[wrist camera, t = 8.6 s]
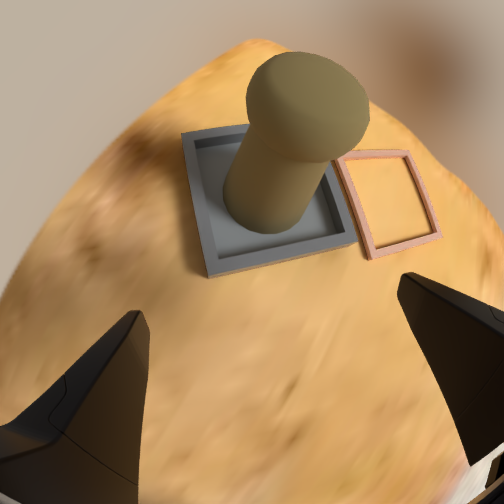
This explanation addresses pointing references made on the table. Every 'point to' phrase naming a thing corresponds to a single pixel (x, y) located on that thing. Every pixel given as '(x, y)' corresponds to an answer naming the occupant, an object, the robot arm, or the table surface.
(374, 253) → the frame
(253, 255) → the lower port socket
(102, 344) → the robot arm
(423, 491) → the table surface
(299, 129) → the cork
